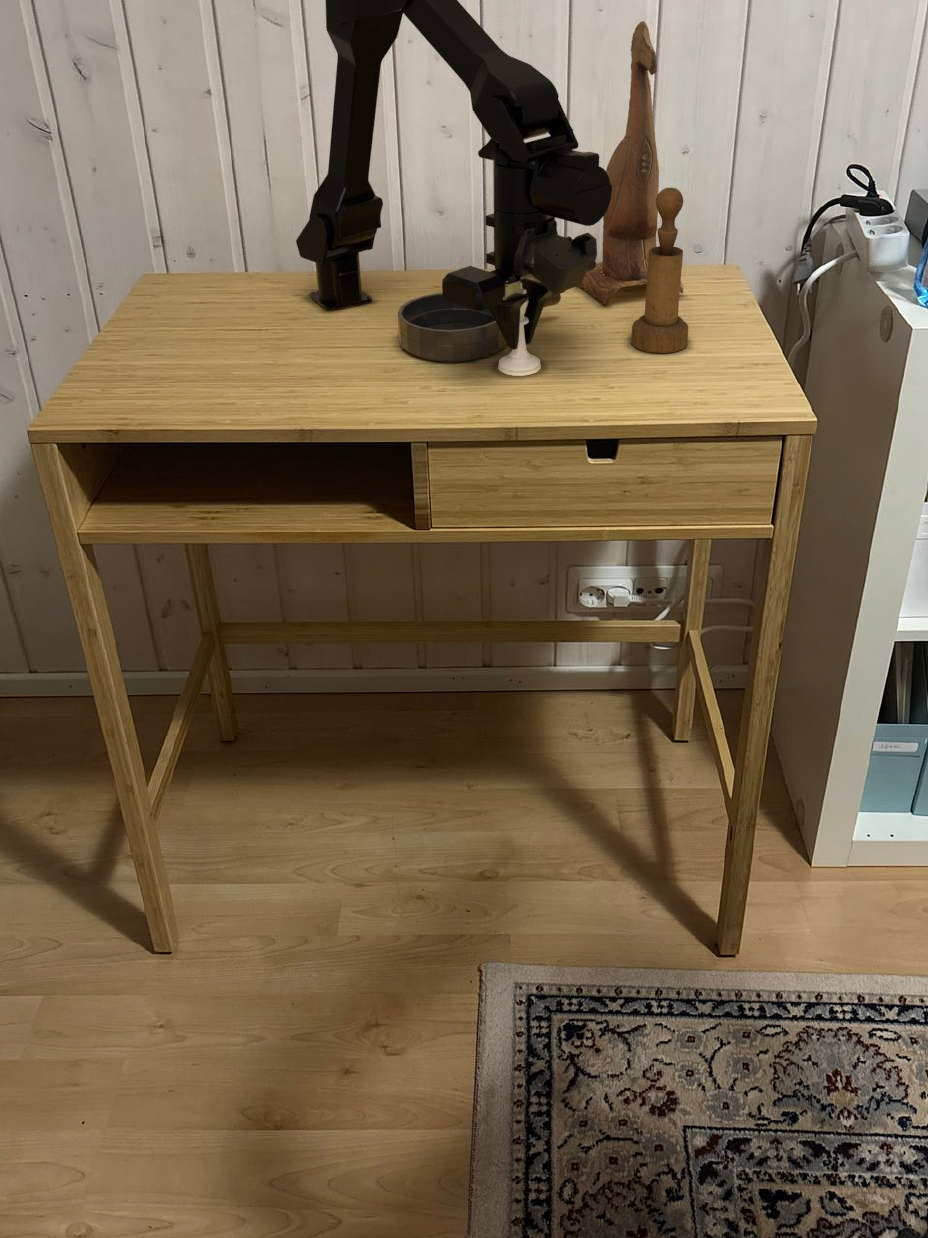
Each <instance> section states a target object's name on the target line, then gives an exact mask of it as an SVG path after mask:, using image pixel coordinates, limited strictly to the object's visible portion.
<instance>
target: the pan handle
mask: <svg viewBox="0 0 928 1238" xmlns="http://www.w3.org/2000/svg"><path fill="white" fill-rule="evenodd" d="M561 299H562V295H561V294H555V293H552V294H551V295H550V296H549V297H548V298H547V301H546V303H545V305H544V308H547V307H552V306H556V305H558V304H559V303H561Z"/></svg>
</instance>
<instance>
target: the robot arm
mask: <svg viewBox="0 0 928 1238" xmlns="http://www.w3.org/2000/svg"><path fill="white" fill-rule="evenodd" d="M403 16H405V17H406V18H407V20H408V21H409V22H410V23H411V24H412V25H413V26H414V27H415V29H416V30H417V31H418V32H419V33H420V34H421V36H423V38H424V39H425V40H426V41H427V42H428V43H429V44H430V46H431V47H432V48H433V49H434V50H435V51H436V52H437V54H438V55H439V56H440V57H441V58H442V59H443V61H444V62H445V63H446V64H447V66H449V67H450V68H451V70H452V71H453V72H454V73H455V74H456V75H457V76H458V78H459V79H460V81H462V82H463V84H464V85H465V86H466V88H467V90H468V91H469V95H470V103H471V109H472V111H473V113H474V115H475V116H476V118H477V119H478V121H479V123H480V124H481V126H482V127H483V129H484V130H485V132H486V134H487V136H489V138H490V139H489V140H488V142H487V143H486V144H485V145H483V146H482V147H481V148H480V149H479V150H478V152H477V155H478V157H479V158H481V159H485V160H488V161H493V162H492V178H493V179H492V181H493V182H492V184H493V187H492V189H493V192H492V193H493V198H492V199H493V200H492V201H493V212H492V213H490V214H487V215H485V226H486V227H491V228H493V250H492V251H490V252H487V253H485V263H486V264H488V265H492V266H494V269H493V270H491V271H488V270H485V269H482V268H478V267H475V266H472V265H468V266H466V267H462V268H459V269H456V270H454V271H451V272H447V274H446V275H445V276H444V277H443V278H442V280H441V288H442V291H441V293H442V295H443V299H444V300H447V301H450V302H453V303H456V304H458V305H461V306H464V307H467V308H470V309H473V310H485V309H488V308H489V310H490V311H491V313H492V315H493V317H494V319H495V321H496V323H497V325H498V327H499V329H500V331H501V333H502V335H503V337H504V339H505V341H506V346H507V347H508V348H509V349H511V350H512V349H513V350H515V349H517V347H518V340H519V326H520V308H521V306H522V305H523V304H524V303H525V302H526V300H527V299H528V305H527V307H526V311H525V314H524V316H525V317H527V318H528V320H529V322H528V323H527V324H525V325H524V335H525V343H526V345H530V344H531V343H532V341H533V338H534V335H535V332H536V330H537V326H538V325H539V321H540V319H541V316H542V313H543V310H544V308H545V307H544V305H545V303H546V301H547V298H548V297H549V296H550V295H551V294H552V293H555V294H560V295H561V294H563V293H565V292H566V291H569V290H571V289H574V288H580V286H581V285H582V282H583V279H584V276H585V274H586V272H588V271H591V270H593V269H594V268H595V267H596V263H597V262H596V260H597V257H598V246H597V245H598V244H597V237H595V236H593V235H592V234H591V233H590V232H585V233H583V234H579V235H577V236H575V237H571V236H563V235H559V233H558V221H557V220H556V219H559V220H563V221H567V222H571V223H574V224H577V225H581V226H586V227H591V226H595V225H596V224H597V223H599V222H600V221H601V219H602V218H603V216H604V214H605V213H606V211H607V209H608V206H609V204H610V200H611V195H612V185H611V184H610V180H609V176H608V174H607V172H606V169H605V168H603V167H601V166H600V154H599V153H597V152H592V151H585V152H584V151H579V150H577V149H578V148H579V142H578V139H577V137H576V135H575V133H574V129H573V127H572V126H571V124H570V122H569V119H568V117H567V115H566V113H565V111H564V108H563V106H562V103H561V102H560V100H559V95H560V94H559V93H558V92H559V91H558V90H557V88H556V87H555V85H554V83H553V81H552V80H550V79H549V78H548V77H547V76H545V75H544V74H543V73H542V72H541V71H539V70H538V69H537V68H535V67H534V66H532V64H530V63H528V62H525V61H523V60H521V59H518V58H516V57H514V56H511V55H509V54H508V53H506V52H505V51H504V50H502V48H500V46H498V44H497V43H496V42H495V41H494V40H493V39H492V38H491V36H490V35H489V34H488V32H486V31H485V29H483V27H482V26H481V25H480V24H479V23H478V22H477V20H476V19H475V18H474V17H473V16H472V15H471V14H470V13H469V11H467V10H466V8H465V7H464V6H463V5H462V3H460V1H459V0H325V24H326V25H325V28H326V32H327V34H328V37H329V39H330V40H331V43H332V45H333V47H334V49H335V51H336V54H337V59H336V70H335V71H336V72H335V83H334V84H335V85H334V96H333V107H332V108H333V109H332V119H331V130H330V131H331V133H330V143H329V144H330V145H329V155H328V168H327V174H326V175H325V177H324V179H323V180H322V182H321V183H320V185H319V186H318V188H317V189H316V191H315V192H314V194H313V198H312V202H311V206H310V212H309V216H308V217H309V218H308V221H307V223H306V224H305V226H304V227H303V229H302V230H301V232H300V234H299V235H298V236H297V238H296V240H295V243H296V247H297V250H298V254H299V257H300V258H301V259H305V260H308V261H310V262H313V263H315V273H316V283H317V291H316V290H315V291H312V292H309V298H310V299H312V300H314V302H316V303H317V304H318V305H319V306H320V307H322V308H323V309H324V310H326V311H333V310H338V309H343V308H348V307H353V306H359V305H362V304H368V303H371V302H372V301H373V299H372V296H371V295H369V294H367V293H366V292H365V291H363V289H362V277H361V276H362V275H361V264H360V253H362V252H365V251H370V250H373V249H374V243H375V237H376V234H377V233H378V229H381V228H382V222H381V221H382V220H381V218H382V217H381V216H382V215H381V214H382V209H383V206H384V202H383V199H382V197H380V196H378V195H376V192H375V191H374V189H373V187H372V184H371V183H370V180H369V179H370V177H369V176H370V168H371V158H372V157H371V156H372V150H373V140H374V132H375V121H376V112H377V106H378V105H377V104H378V95H379V94H378V93H379V88H380V87H379V86H380V75H381V67H382V62H383V60H384V58H385V57H386V55H387V54H388V52H389V50H391V48H392V46H393V44H394V43H395V41H396V40H397V38H398V35H399V31H400V27H401V23H402V19H403ZM546 134H548V135H549V136H546V137H542V138H538V139H535V140H530V141H527V142H525V140H529V139H532V138H533V139H534V138H536V137H541V136H543V135H546ZM595 269H596V268H595ZM521 282H522V288H523V289H526V294H520V283H521Z"/></svg>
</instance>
